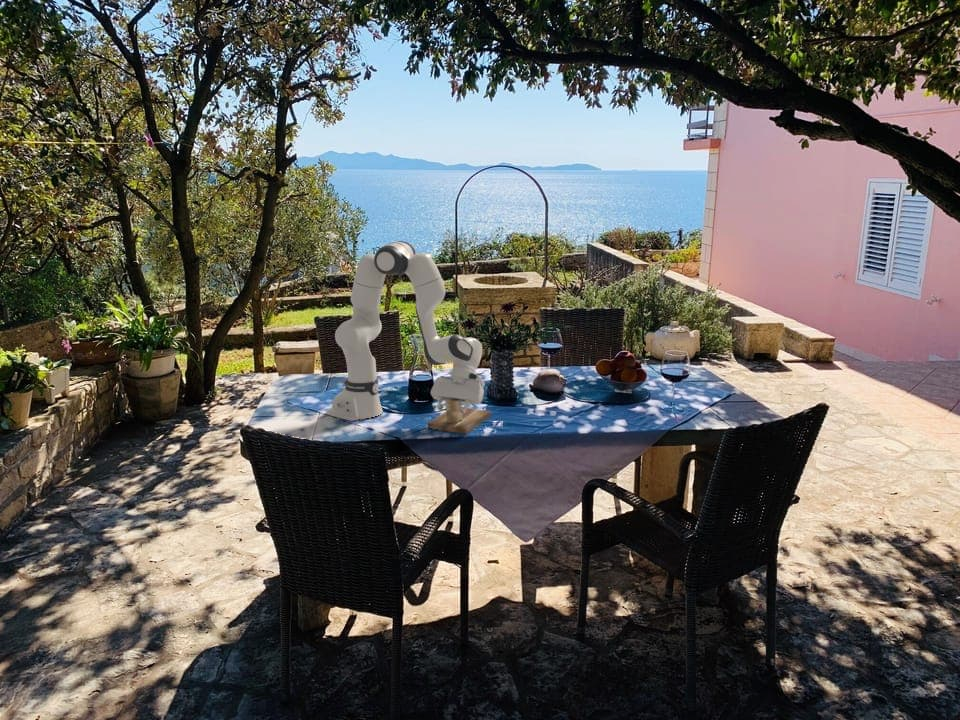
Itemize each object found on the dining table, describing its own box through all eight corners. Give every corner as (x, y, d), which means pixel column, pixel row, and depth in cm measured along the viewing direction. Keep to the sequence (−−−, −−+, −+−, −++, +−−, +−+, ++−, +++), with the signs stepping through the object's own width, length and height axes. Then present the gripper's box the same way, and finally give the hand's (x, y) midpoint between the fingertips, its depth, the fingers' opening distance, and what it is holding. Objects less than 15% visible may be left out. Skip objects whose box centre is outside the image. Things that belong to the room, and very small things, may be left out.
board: (427, 428, 254) (427, 423, 253) (453, 411, 272) (453, 406, 272) (466, 434, 247) (466, 428, 247) (490, 416, 266) (490, 410, 265)
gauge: (446, 421, 255) (445, 401, 253) (451, 418, 258) (450, 398, 256) (460, 423, 252) (459, 402, 250) (464, 420, 256) (463, 399, 253)
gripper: (434, 371, 260) (422, 403, 254) (483, 376, 251) (472, 410, 245) (440, 379, 265) (429, 411, 259) (488, 385, 256) (478, 417, 250)
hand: (450, 410), depth 252 cm, fingers open, 8 cm apart
